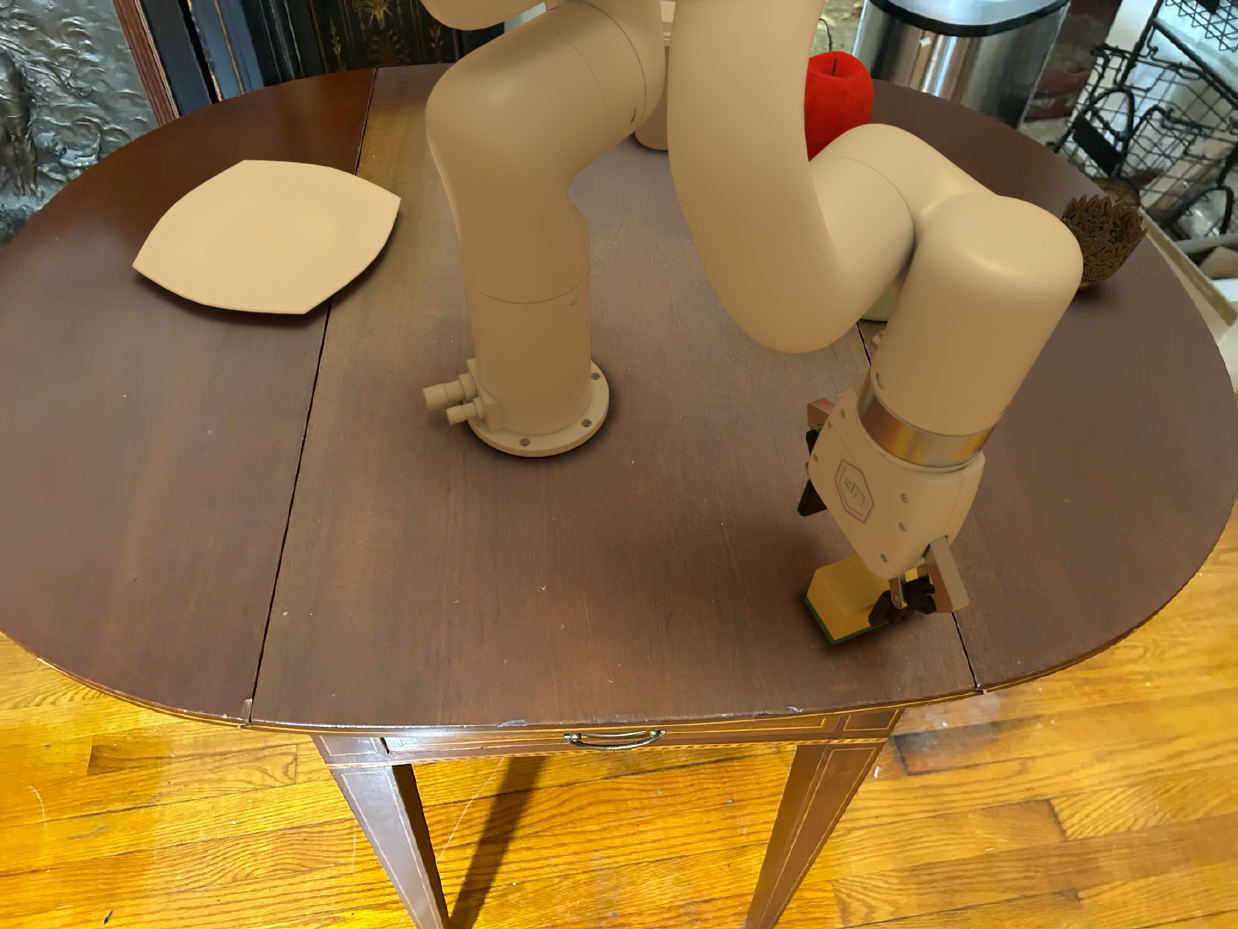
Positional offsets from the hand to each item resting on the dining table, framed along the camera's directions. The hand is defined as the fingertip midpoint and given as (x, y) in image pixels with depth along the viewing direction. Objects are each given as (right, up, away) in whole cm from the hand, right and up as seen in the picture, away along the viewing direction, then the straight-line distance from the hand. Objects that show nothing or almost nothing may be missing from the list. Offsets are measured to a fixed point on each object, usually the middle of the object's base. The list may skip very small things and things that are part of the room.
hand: (850, 560), depth 65 cm
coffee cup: (-12, +45, +41) cm, 62 cm away
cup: (+29, +25, +26) cm, 46 cm away
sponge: (+1, -4, +2) cm, 5 cm away
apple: (+6, +41, +38) cm, 57 cm away
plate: (-51, +29, +27) cm, 65 cm away
